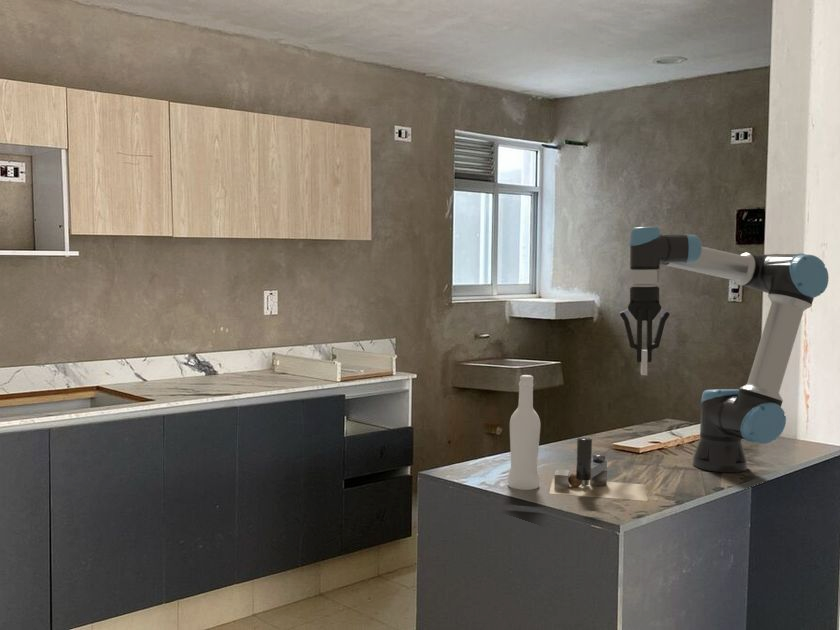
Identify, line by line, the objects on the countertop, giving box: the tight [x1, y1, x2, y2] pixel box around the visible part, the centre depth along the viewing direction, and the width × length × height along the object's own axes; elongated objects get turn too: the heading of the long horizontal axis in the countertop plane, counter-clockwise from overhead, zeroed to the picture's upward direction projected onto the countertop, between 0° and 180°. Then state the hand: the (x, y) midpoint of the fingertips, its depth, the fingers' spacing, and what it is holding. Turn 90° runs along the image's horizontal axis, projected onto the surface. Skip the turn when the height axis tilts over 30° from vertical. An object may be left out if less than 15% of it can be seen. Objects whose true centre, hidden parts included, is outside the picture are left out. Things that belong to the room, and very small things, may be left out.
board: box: [548, 469, 649, 502], centre depth 220 cm, size 24×16×5 cm, turn 78°
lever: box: [575, 437, 608, 487], centre depth 219 cm, size 4×15×14 cm, turn 148°
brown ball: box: [568, 472, 582, 487], centre depth 221 cm, size 4×4×4 cm
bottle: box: [507, 374, 541, 491], centre depth 221 cm, size 8×8×30 cm
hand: (643, 374), depth 227 cm, fingers closed
